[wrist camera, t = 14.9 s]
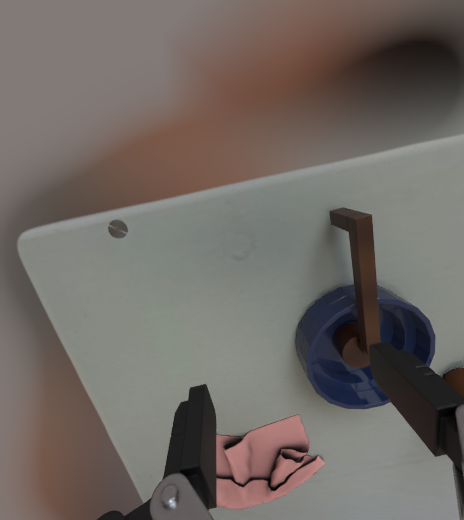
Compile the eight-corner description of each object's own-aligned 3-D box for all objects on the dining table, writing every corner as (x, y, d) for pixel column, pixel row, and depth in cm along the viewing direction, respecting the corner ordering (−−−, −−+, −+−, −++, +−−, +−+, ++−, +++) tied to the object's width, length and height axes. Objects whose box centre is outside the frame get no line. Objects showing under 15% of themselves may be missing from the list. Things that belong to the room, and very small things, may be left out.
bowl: (275, 318, 33) (285, 340, 28) (383, 261, 31) (412, 274, 27) (322, 396, 37) (337, 426, 33) (419, 349, 36) (449, 374, 31)
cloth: (189, 501, 43) (187, 519, 40) (214, 402, 37) (214, 417, 34) (300, 511, 45) (305, 529, 42) (341, 419, 39) (349, 434, 37)
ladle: (313, 215, 28) (336, 224, 23) (358, 203, 28) (391, 209, 23) (334, 357, 35) (355, 389, 29) (371, 347, 34) (398, 378, 29)
